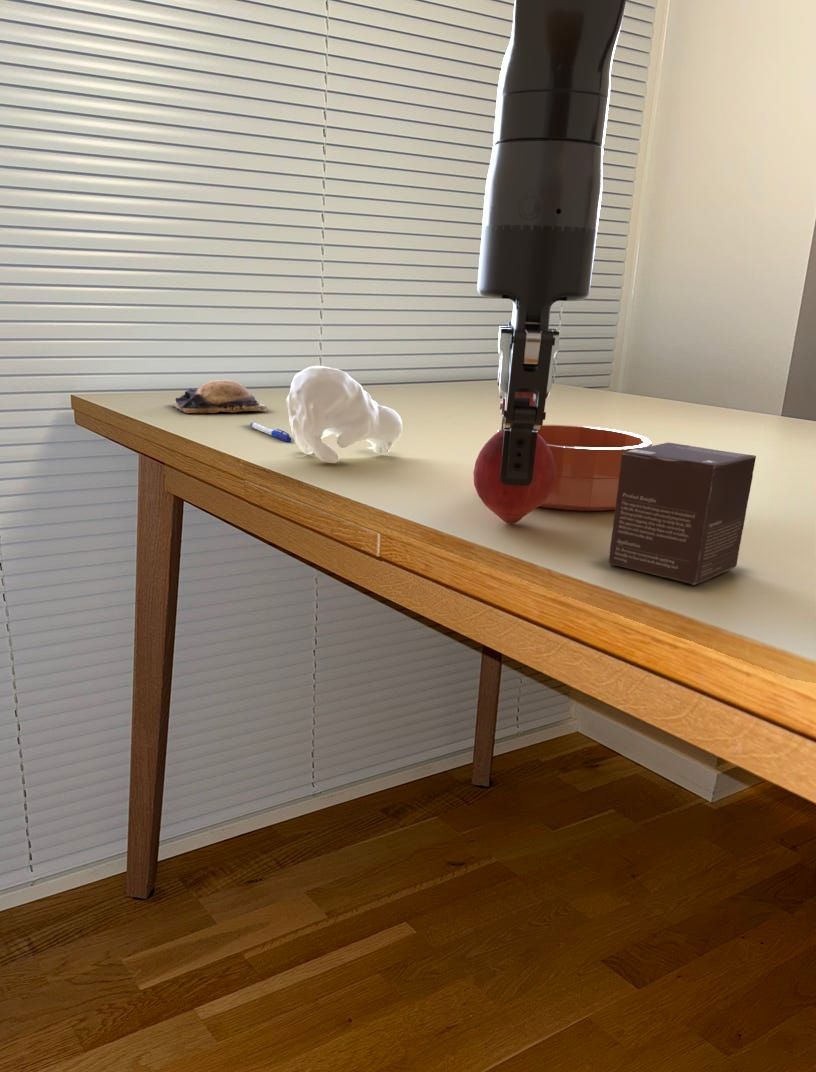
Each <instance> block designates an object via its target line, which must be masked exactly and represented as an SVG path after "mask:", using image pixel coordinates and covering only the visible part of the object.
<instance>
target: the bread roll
mask: <svg viewBox="0 0 816 1072" xmlns="http://www.w3.org/2000/svg"><path fill="white" fill-rule="evenodd" d="M174 400H175V401H174V402H173V407H174V408H175V409H176V410H177V409H178V410H179V411H181V412H183V413H185V414H187V415H188V414H208V413H211V414H216V413H219V412H222V413H223V412H225V413H226V412H227V413H240V412H252V411H253V412H266V411H267V410H268V409H267V406H266V404H263V403H261V402H259V401H257V400H256V397H255V396H253V394H252V393H251V392H250V390H249V389H248V388H247V387H246V386H245V385H242V384H241V383H239V382H236V381H235V380H230V379H215V380H210V381H207V382H205V383H203V384H201V385H200V386H199V387H198V388H192V387H189V388H188V389H187V390H185V392H184V394H182V395H181V396H179V397H176V398H175V399H174Z"/></svg>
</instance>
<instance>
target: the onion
mask: <svg viewBox="0 0 816 1072" xmlns="http://www.w3.org/2000/svg"><path fill="white" fill-rule="evenodd" d="M510 429H511V428H510ZM503 439H504V429H502V430H500V431H499V432H498V431H497V432H496V433H495V434H493V436H492V437H490V438H489V439H488V440H487V442H486V443H485V444H484V445H483V447H482V448H481V450H480V451H479V453H478V455H477V458H476V460H475V462H474V469H473V485H474V487H475V490H476V493H477V496H478V497H479V499H480V500H481V501H482V503H483V504H484V505H485V506H486V507H487V509H489V510H490V511H491V512H492V513H494V515H496V516H497V517H498V518H500V520H502V521H503V522H504V523H505V524H511V525H512V524H516V523H518V522H520V521H521V520H522V519H523V518H524V517H525V516H527V515H528V514H530V513H531V512H533V511H534V510H536V509H538V508H539V507H540V505H541V504H542V503H543V502H544V501H546V499H547V498H548V496H549V495H550V493H551V492H552V490H553V486H554V483H555V479H556V466H555V461H554V458H553V455H552V453H551V450H550V448H549V447H548V445H547V443H546V442H545V441H544V440H543V438H542V437H541V436H540V435H539V434H538V433H537V442H536V451H535V460H534V469H533V478H532V482H531V483H530V484H529V485H528V486H515V485H505V484H503V483H502V482H501V480H500V469H501V459H502V449H503Z"/></svg>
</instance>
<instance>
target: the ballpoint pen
mask: <svg viewBox="0 0 816 1072" xmlns="http://www.w3.org/2000/svg"><path fill="white" fill-rule="evenodd" d="M249 425H250V427H251V428H252V429H255V430H257V431H259V432H262V433H265V434H267V435H270V436H272V437H273V438H276V439H278V440H281V441H284V442H286V443H290V442H291V441H292V437H291V436H290V434H289V433H288V432H287V431H285V430H282V429H280V428H277V429H272V428H269V427H267V426H264V425H262V424H259V423H258V422H257V423H256V422H250V424H249Z"/></svg>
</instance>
